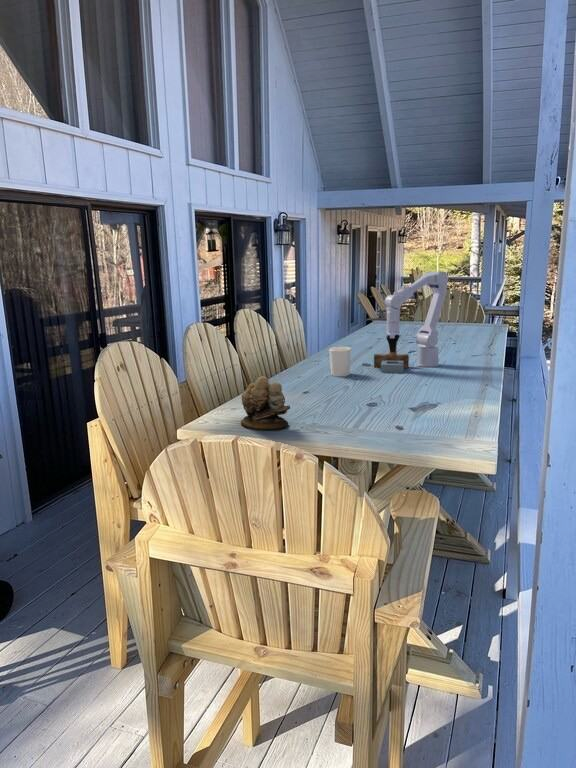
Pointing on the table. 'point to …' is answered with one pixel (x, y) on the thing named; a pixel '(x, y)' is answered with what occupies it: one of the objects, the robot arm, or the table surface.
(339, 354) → the candle holder
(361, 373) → the table surface
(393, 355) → the dowel
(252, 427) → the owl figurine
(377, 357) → the walnut wall
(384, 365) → the socket block
